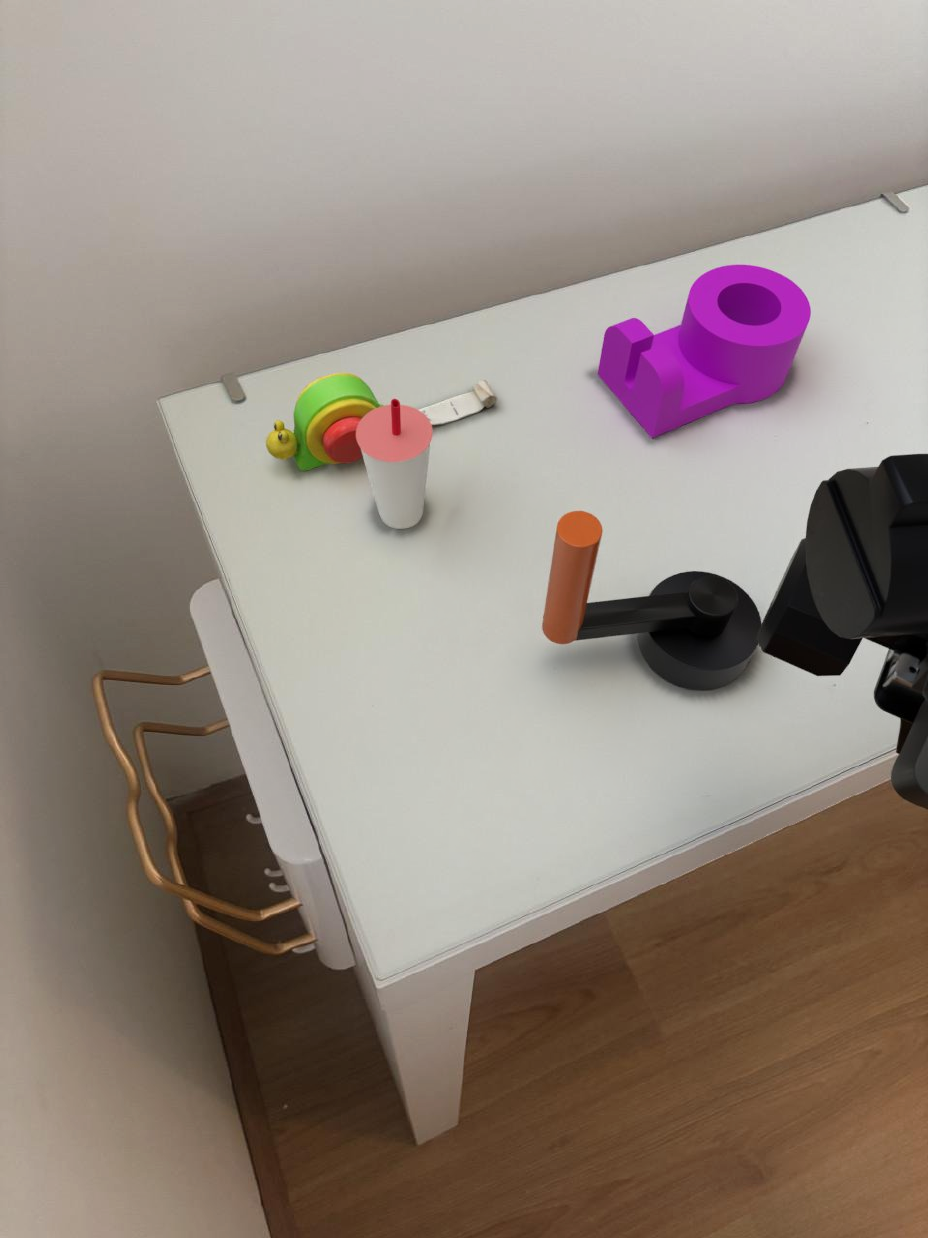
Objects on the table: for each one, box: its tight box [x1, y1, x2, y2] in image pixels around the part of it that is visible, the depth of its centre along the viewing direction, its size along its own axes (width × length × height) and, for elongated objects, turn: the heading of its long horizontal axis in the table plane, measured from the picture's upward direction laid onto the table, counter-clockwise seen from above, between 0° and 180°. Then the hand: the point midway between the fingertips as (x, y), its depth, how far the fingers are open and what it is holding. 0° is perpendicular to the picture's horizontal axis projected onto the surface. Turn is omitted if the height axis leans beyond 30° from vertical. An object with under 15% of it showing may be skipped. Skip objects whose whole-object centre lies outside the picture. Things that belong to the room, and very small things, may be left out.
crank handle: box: [541, 510, 738, 645], centre depth 57 cm, size 13×3×12 cm, turn 98°
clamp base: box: [637, 570, 762, 691], centre depth 64 cm, size 8×8×3 cm
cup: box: [356, 398, 434, 530], centre depth 66 cm, size 5×5×12 cm
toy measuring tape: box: [265, 372, 497, 472], centre depth 73 cm, size 6×20×7 cm, turn 114°
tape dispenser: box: [597, 264, 812, 439], centre depth 77 cm, size 16×10×6 cm, turn 118°
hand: (905, 748), depth 47 cm, fingers closed
